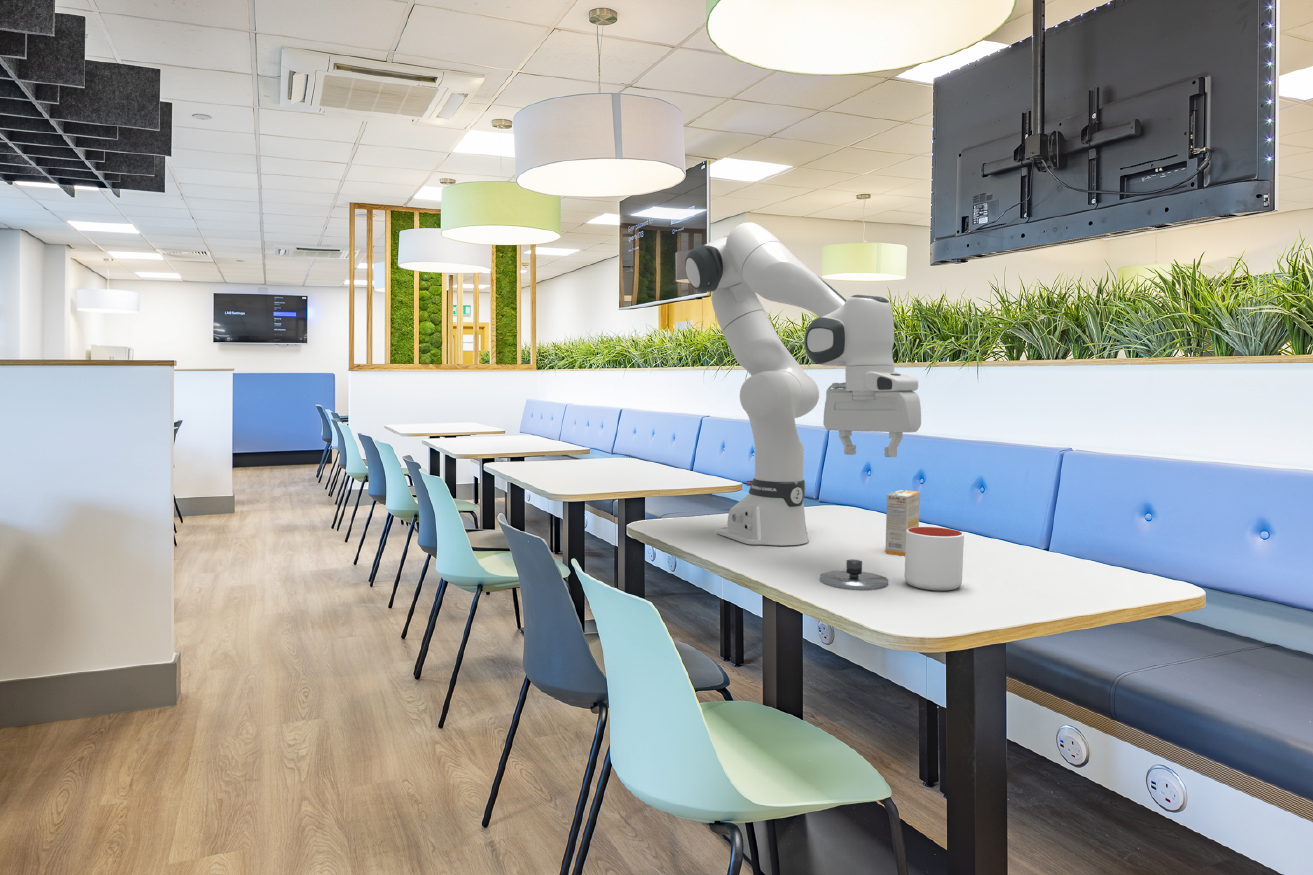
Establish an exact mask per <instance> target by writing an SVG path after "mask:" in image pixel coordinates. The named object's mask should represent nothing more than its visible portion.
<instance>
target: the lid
mask: <svg viewBox="0 0 1313 875" xmlns="http://www.w3.org/2000/svg"><path fill="white" fill-rule="evenodd" d="M845 566H846V568H845V569H846V570H832V571H825V572H822V573H820V575H819V581H820V583H822V584H823V585H825V586H829V587H831V588H835V589H841V590H849V591H877V590H882V589H885V588H887V587H888V586H889V579H888V578H887V577H885V576H883V575H880V574H877V573H872V572H865V571H863V561H862V560H861V559H853V558H852V559H847V560H846V565H845Z"/></svg>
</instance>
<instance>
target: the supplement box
mask: <svg viewBox="0 0 1313 875" xmlns="http://www.w3.org/2000/svg"><path fill="white" fill-rule="evenodd" d="M920 498H921V492H920V491H914V490H906V489H900V490H896V491H893V492H890V493H887V494H886V514H885V515H886V516H885V517H886V519H885V520H886V521H885V522H886V523H885V554H888V555H896V556H902V557H903V556H904V557H905V551H906V530H907V529H909V528H913V527H920V526H919V525H920V500H921V499H920Z"/></svg>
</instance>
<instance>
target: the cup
mask: <svg viewBox="0 0 1313 875" xmlns="http://www.w3.org/2000/svg"><path fill="white" fill-rule="evenodd" d="M964 542H965V533H964V532H962V531H959V530H957V529H951V528H946V527H936V526H919V527H913V528H909V529H907V530H906V551H905V556H904V579H905V581H906V582H907V584H909V585H910V586H912V587H914V588H917V589H921V590H926V591H927V590H928V591H935V592H936V591H939V592H941V591H944V592H946V591H952V590H956V589H958V588H959V587H960V586H961V585H962V583H963V567H964V565H963V564H964V544H965V543H964Z"/></svg>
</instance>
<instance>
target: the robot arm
mask: <svg viewBox="0 0 1313 875" xmlns="http://www.w3.org/2000/svg"><path fill="white" fill-rule="evenodd" d="M684 270H685V274H686V277H687V280H688V282H689V284H690V285H691V287H692V288H693V289H694V290H696V291H697V292H699V293H711V298H710V299H711V304H712V308H713V311H714V314H715V317H716V320H717V323H718V325H719V328H720V330H721V331H722V334H723V337H724V338H725V340H726V342H727V344H728V346H729V348H730V350H731V352H732V354H733V356H734V358H735V360H736V362H737V363H738V365H740V367H742V368H744V370H745V371H746V372H748V373H749V375H750V376H749V377H748V378H747V379H745V380H744V382H743V384H742V385H741V387H740V389H739V402H740V405H741V407H742V409H743V410H744V411H745V413H746V414H747V417H748V420H749V422H750V423H749V424H750V426H751V427H750V428H751V431H752V436H753V442H754V478H752V480H746V485H745V486H746V487H749V489H748V494H747V495H746V496H745V497H744V498H742V499H740V501H738V502H737V503H736V504H735V505H733V506H732V507H730V510H728V516H727V522H726V523H727V524H726V525H727V526H724V527H720V528H718V529H717V532H716V534H717V535H720V536H724V537H726V538H729V539H732V540H734V541H737V542H741V543H743V544H745V545H755V546H756V545H762V546H763V545H767V546H797V545H798V546H799V545H802V544H806V543H808V542H809V541H810V539H809V536H808V532H807V531H808V530H807V526H806V525H807V524H806V514H805V504H804V497H805V495H806V491H805V490H806V483H805V479H804V455H805V452H804V451H805V449H804V447H805V446H804V444H803V442H802V441H801V439H800V437H799V433H798V429H797V425H796V419H798V418H801V417H803V416H805V415H807V414H808V413H810V412H812V411H813V409H815V407H816V406H817V404H818V401H819V399H820V390H819V388H818V384H817V383H816V381H815V380H814V378H812V377H810V376H809V375H808V374H807V372H805V370H804V369H803V368H802V367H801V366H800V364H799V363H798V361H797V360H796V359H795V358H794V357H793V355H792V353H791V352H790V351H789V350H788V349H787V348H786V346H785V345H784V343H783V342H782V340H781V339H780V336H779V334H778V332H777V331H776V329H775V327H774V325H773V324H772V322H771V319H770V318H769V315H768V313H767V312H766V310H765V308H764V307H763V304H762V303H761V301H760V299H759V298H758V295H759V296H760V297H762V298H763V299H765V300H767V301H770V302H774V303H780V304H784V305H790V306H794V307H798V308H801V309H803V310H807V311H808V312H810V313H812V314H814V315H816V316H817V318H815V319H814V320H812V321H811V322H810V323H809V325H808V326H807V328H806V330H805V335H804V337H803V338H804V340H803V341H804V342H803V343H804V350H805V352H806V355H807V357H808V358H809V360H810V361H812V362H813V363H815V364H816V365H821V366H829V367H830V366H833V367H834V366H835V367H845V381H844V382H833V383H831V385H829V386H828V388H826V391H825V394H826V395H825V402H824V407H823V408H824V409H823V420H822V421H823V426H824V428H825V429H826V431H838V437H839V440H840V442H841V443H842V446H843V448H844V449H843V453H844V455H847V456H848V455H850V456H851V455H856V454H857V445H855V444H853V442H852V440H851V437H852V436H853V434H852V432H875V433H876V432H879V433H882V432H884V433H888V437H889V439H891V440H890V442H889V444H888V447H887V446H886V447H884V449H883V450H884V457H885V458H897V456H898V447H899V445H900V443H901V442H902V440H903V437H904V436H903V433H917V432H918V431H919V429H920V428H921V426H922V408H921V399H920V396H919V395H918V393H917V392H915V391H917V390H918V388H919V381H918V379H917V378H915V377H912V376H909V375H905V374H902V373H900V372H898V371H895V361H894V359H893V348H894V343H895V322H894V313H893V309H892V308H893V307H892V305H891V302H890V301H889V300H888V299H887V298H885V297H883V296H876V295H865V294H864V295H863V294H853V295H851V296H849V297H848V298H847V299H846V298H845V297H844V296H842V295H841V294H840V293H839V292H838V291H837V290H836V289H834V288H833V287H832V286H831V285H830V284H829V283H827V282H826V281H825V280H823V279H822V278H821V277H819V276H818V275H817V274H816V273H815V272H813V270H811V269H810V268H808V267H807V266H806V265H805V264H804V263H803V262H802V261H801V260H800V259H799V258H797V256H795V255H794V254H793V253H792V252H791V250H789V248H787V247H786V245H785V244H783V243H782V242H781V241H780V239H779V238H777V237H776V235H774V234H773V233H772V232H770V231H769V230H767V229H766V228H765V227H763V226H761V225H760V224H758V223H755V222H752V221H751V222H750V221H747V222H743V223H740V224H738V225H737V226H735V227H734V228H733V229H731V231H730V232H729V234H728V235H724V236H723V237H721V238H718V239H715V240H713V241H712V240H711V241H710V242H708V243H705V244H700V245H699V246H696V247H694V248H692V249H691V250H690V251H688V253H687V254H686V257H685V260H684ZM747 483H748V484H747Z"/></svg>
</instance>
